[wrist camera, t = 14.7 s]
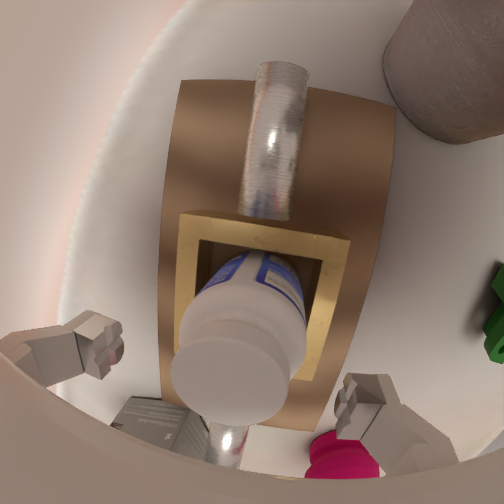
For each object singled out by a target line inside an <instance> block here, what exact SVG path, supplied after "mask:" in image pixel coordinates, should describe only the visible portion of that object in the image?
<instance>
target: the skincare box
mask: <svg viewBox="0 0 504 504" xmlns="http://www.w3.org/2000/svg"><path fill="white" fill-rule="evenodd" d="M110 426H111V427H113V428H115V429H117V430H119V431H122V432H124V433H126V434H128V435H130V436H133V437H135V438H137V439H140V440H142V441H145V442H147V443H150V444H152V445H155V446H158V447H160V448H163V449H166V450H169V451H171V452H174V453H177V454H180V455H184V456H187V457H190V458H193V459H197V460H200V461H205V455H206V448H207V442H208V436H209V433H208V431H207V429H206V428H205V426H204V424H203V422H202V420H201V418H200V416H199V414H197V413H196V412H194V411H193V410H191V409H189V408H185V407H182V406H179V405H176V404H173V403H169V402H166V401H161V400H151V399H141V398H130V399H129V400H128V401H127V403H126V404H125V405H124V407H123V408H122V410H121V411H120V412H119V414H118V415H117V416H116V418H115V419H114V421H113V422H112V423H111V425H110Z"/></svg>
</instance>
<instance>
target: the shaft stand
mask: <svg viewBox="0 0 504 504" xmlns="http://www.w3.org/2000/svg"><path fill="white" fill-rule="evenodd" d="M308 80H309V73H308V72H307V71H306V70H305V69H304V68H302V67H300V66H298V65H295V64H292V63H287V62H278V61H274V62H266V63H263V64H261V65H260V66H259V67H258V71H257V77H256V81H245V80H181V85H180V89H179V94H178V99H177V104H176V110H175V115H174V121H173V127H172V133H171V139H170V146H169V152H168V160H167V167H166V175H165V184H164V193H163V204H162V215H161V228H160V244H159V266H158V344H159V365H160V380H161V393H162V400H163V401H166V402H169V403H173V404H176V405H179V406H182V407H185V408H189V407H188V406H187V405H186V404H185V403H184V402H183V401H182V400H181V399H180V397H179V396H178V394H177V393H176V391H175V389H174V387H173V384H172V381H171V375H170V369H171V364H172V360H173V358H174V356H175V354H176V353H177V351H178V349H179V347H180V343H179V329H180V323H181V320H182V317H183V315H184V312H185V311H186V309H187V307H188V306H189V305H190V303H191V302H192V301H193V299H194V298H195V297H196V296H197V295H198V293H199V292H200V291H201V290H202V289H203V288H204V287H205V285H206V284H207V283H208V282H209V281H210V280H211V279H212V278H213V276H214V275H215V274H216V273H217V272H218V271H219V270H220V268H221V267H222V266H223V265H224V264H225V263H226V262H227V261H228V260H229V259H230V258H232V257H233V256H235V255H236V254H238V253H240V252H243V251H246V250H252V249H262V250H267V251H272V252H275V253H277V254H279V255H281V256H282V257H284V258H285V259H287V260H288V261H289V262H290V263H291V264H292V265H293V267H294V268H295V269H296V271H297V273H298V275H299V277H300V280H301V284H302V291H303V299H304V309H305V320H306V333H307V348H306V354H305V358H304V360H303V363H302V365H301V367H300V368H299V370H298V372H297V373H296V374H295V376H294V377H293V378H292V379H291V380H290V381H289V386H288V394H287V398H286V400H285V403H284V405H283V406H282V408H281V409H280V410H279V411H278V412H277V413H276V414H275V415H274V416H272V417H271V418H269V419H268V420H266V421H263V422H261V423H258V425H264V426H270V427H277V428H284V429H292V430H301V431H312V432H314V430H315V428H316V426H317V424H318V422H319V420H320V418H321V416H322V413H323V411H324V409H325V407H326V405H327V402H328V400H329V398H330V395H331V393H332V391H333V388H334V386H335V383H336V381H337V378H338V376H339V373H340V371H341V368H342V366H343V363H344V360H345V358H346V355H347V352H348V349H349V346H350V344H351V341H352V338H353V335H354V332H355V329H356V326H357V323H358V319H359V316H360V313H361V310H362V306H363V303H364V300H365V296H366V293H367V289H368V285H369V282H370V278H371V274H372V270H373V266H374V262H375V258H376V253H377V249H378V244H379V240H380V235H381V230H382V225H383V220H384V214H385V208H386V203H387V196H388V190H389V183H390V175H391V168H392V159H393V149H394V138H395V124H396V107H393V106H390V105H386V104H383V103H379V102H376V101H372V100H368V99H364V98H360V97H356V96H352V95H347V94H343V93H338V92H333V91H328V90H323V89H317V88H311V87H308ZM189 409H190V408H189ZM248 430H249V425H248V426H231V425H224V424H220V423H217V422H214V421H211V424H210V430H209V436H208V442H207V448H206V455H205V461H204V462H208V463H212V464H216V465H220V466H224V467H229V468H233V469H238V470H239V467H240V463H241V459H242V455H243V451H244V447H245V442H246V438H247V434H248Z"/></svg>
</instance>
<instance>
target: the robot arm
mask: <svg viewBox="0 0 504 504" xmlns="http://www.w3.org/2000/svg"><path fill="white" fill-rule="evenodd" d="M121 333H122V325H121V323H120V322H119V321H116V320H114V319H111V318H108V317H106V316H103V315H101V314H98V313H96V312H93V311H91V310H86V311H85V312H83V313H82V314H80V315H79V316H77V317H76V318H74V319H73V320H71V321H70V322H68V323H67V324H65V325H64V326H61V325H57V326H52V327H45V328H38V329H31V330H25V331H18V332H12V333H10V334H8V335H7V336H5V337H4V338H2V339H1V340H0V504H504V447H503V448H500V449H498V450H495V451H493V452H490V453H487V454H485V455H482V456H479V457H476V458H473V459H470V460H467V461H463V462H460V463H459V461H458V458H457V455H456V453H455V450H454V448H453V446H452V443H451V441H450V439H449V438H448V437H447V436H446V435H444V434H443V433H442V432H440V431H439V430H438V429H436V428H435V427H434V426H432V425H431V424H430V423H428V422H427V421H426V420H424V419H423V418H422V417H420V416H419V415H418V414H416V413H415V412H414V411H413V410H411V409H410V408H409V407H407V406H406V405H405V404H402V405H401V403H400V400H399V398H398V395H397V393H396V390H395V388H394V385H393V383H392V380H391V378H390V376H389V375H388V374H360V373H347V375H346V376H345V378H344V380H343V383H344V388H342V389H341V390H339V392H338V394H337V397H336V400H335V405H334V414H335V416H336V417H337V418H338V421H337V423H336V434H337V439H347V440H360V442H361V443H362V444H363V446H364V447H365V448H366V449H367V451H368V452H369V453H370V454H371V456H372V457H373V458H374V459H375V461H376V462H377V463H378V464H379V466H380V467H381V468H382V469H383V470H384V472H385V473H386V475H385V476H384V477H377V478H363V479H310V478H295V477H285V476H276V475H268V474H261V473H255V472H249V471H243V470H238V469H233V468H229V467H224V466H220V465H216V464H212V463H208V462H204V461H200V460H197V459H193V458H190V457H187V456H184V455H180V454H177V453H174V452H171V451H169V450H166V449H163V448H160V447H158V446H155V445H152V444H150V443H147V442H145V441H142V440H140V439H137V438H135V437H133V436H130V435H128V434H126V433H124V432H122V431H119V430H117V429H115V428H113V427H111V426H109V425H107V424H105V423H103V422H101V421H99V420H97V419H96V418H94V417H92V416H90V415H88V414H86V413H85V412H83V411H81V410H79V409H78V408H76V407H74V406H73V405H71V404H69V403H68V402H66V401H65V400H63V399H61V398H60V397H58V396H57V395H55V394H54V393H52V392H51V391H49V390H48V389H46V387H48V386H51V385H54V384H56V383H59V382H62V381H64V380H67V379H70V378H72V377H75V376H78V375H80V374H83V373H84V372H85V373H87V374H89V375H91V376H93V377H96V378H98V379H100V380H102V379H103V378H104V377H105V376H106V375H107V374H108V373H109V372H110V371H111V367H110V366H111V365H114V364H117V363H118V362H119V361H120V360H121V358H122V355H123V353H124V342H123V340H122V339H121V337H120V335H121Z"/></svg>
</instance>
